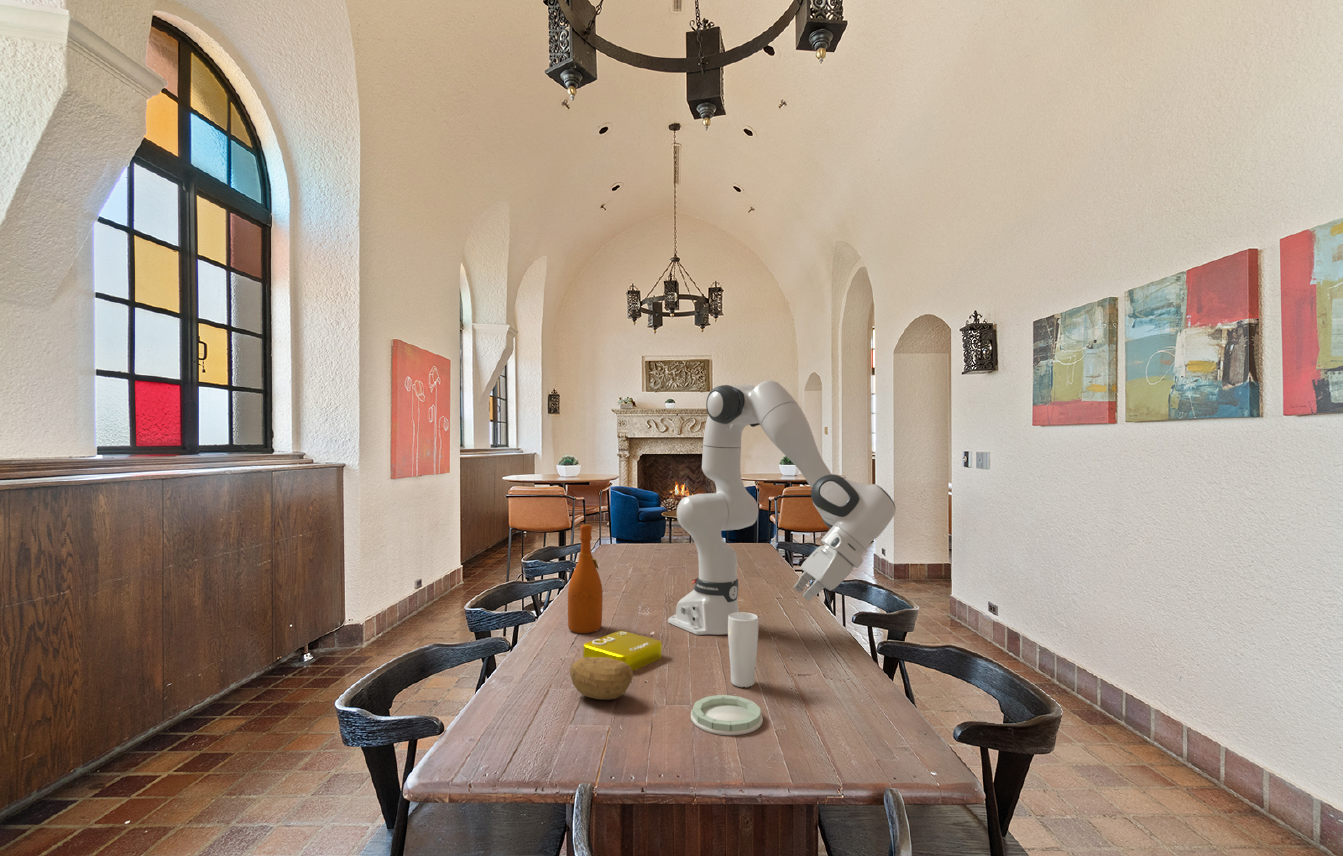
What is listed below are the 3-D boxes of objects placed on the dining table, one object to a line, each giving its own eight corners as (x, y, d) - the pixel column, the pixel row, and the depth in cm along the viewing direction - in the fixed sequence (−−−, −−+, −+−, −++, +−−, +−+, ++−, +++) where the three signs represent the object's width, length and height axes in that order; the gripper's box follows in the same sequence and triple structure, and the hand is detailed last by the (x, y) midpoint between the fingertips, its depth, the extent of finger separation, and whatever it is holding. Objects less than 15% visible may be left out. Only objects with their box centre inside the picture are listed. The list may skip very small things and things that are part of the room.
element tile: (625, 676, 141) (625, 655, 141) (579, 661, 150) (579, 642, 150) (665, 658, 153) (665, 639, 153) (620, 645, 162) (620, 627, 162)
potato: (584, 683, 136) (584, 647, 136) (640, 695, 130) (640, 657, 130) (558, 700, 127) (559, 661, 127) (617, 713, 121) (618, 672, 121)
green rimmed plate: (675, 718, 119) (675, 709, 119) (720, 697, 129) (720, 688, 129) (733, 743, 109) (733, 733, 109) (776, 718, 119) (776, 708, 120)
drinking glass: (757, 691, 132) (757, 621, 133) (725, 688, 134) (726, 619, 134) (758, 679, 139) (759, 612, 139) (729, 676, 140) (729, 611, 141)
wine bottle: (599, 634, 170) (600, 526, 170) (564, 634, 170) (565, 526, 171) (604, 624, 180) (605, 522, 180) (570, 623, 180) (572, 521, 180)
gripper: (819, 534, 148) (781, 577, 147) (842, 543, 127) (798, 593, 127) (839, 551, 147) (801, 595, 147) (865, 563, 127) (822, 614, 126)
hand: (800, 594), depth 136 cm, fingers open, 8 cm apart
